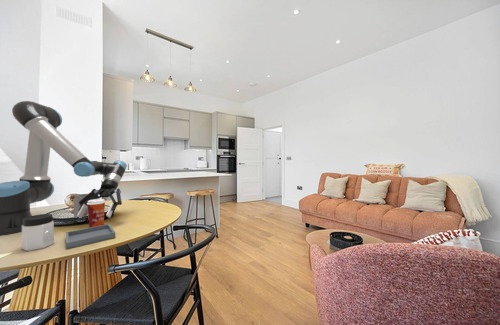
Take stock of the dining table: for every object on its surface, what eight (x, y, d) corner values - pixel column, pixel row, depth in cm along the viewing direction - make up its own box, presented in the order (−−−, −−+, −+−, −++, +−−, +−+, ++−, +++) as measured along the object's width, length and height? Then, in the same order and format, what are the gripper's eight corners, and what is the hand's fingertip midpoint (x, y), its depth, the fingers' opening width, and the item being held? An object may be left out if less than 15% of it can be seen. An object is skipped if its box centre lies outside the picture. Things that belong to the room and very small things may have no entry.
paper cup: (95, 230, 95) (95, 202, 95) (82, 229, 96) (82, 201, 96) (109, 225, 103) (109, 199, 102) (98, 223, 104) (97, 198, 104)
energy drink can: (83, 219, 111) (83, 193, 111) (91, 220, 110) (90, 194, 109) (71, 222, 106) (70, 195, 105) (79, 223, 104) (78, 196, 104)
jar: (37, 251, 74) (37, 220, 73) (15, 251, 73) (14, 220, 73) (59, 241, 83) (59, 213, 82) (39, 241, 82) (39, 213, 82)
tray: (66, 249, 75) (66, 243, 75) (65, 237, 86) (65, 232, 86) (115, 237, 87) (115, 232, 87) (109, 228, 97) (109, 223, 97)
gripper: (135, 186, 116) (122, 219, 101) (90, 186, 113) (70, 220, 98) (131, 178, 111) (117, 212, 96) (84, 178, 107) (61, 213, 93)
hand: (93, 216), depth 97 cm, fingers open, 13 cm apart
